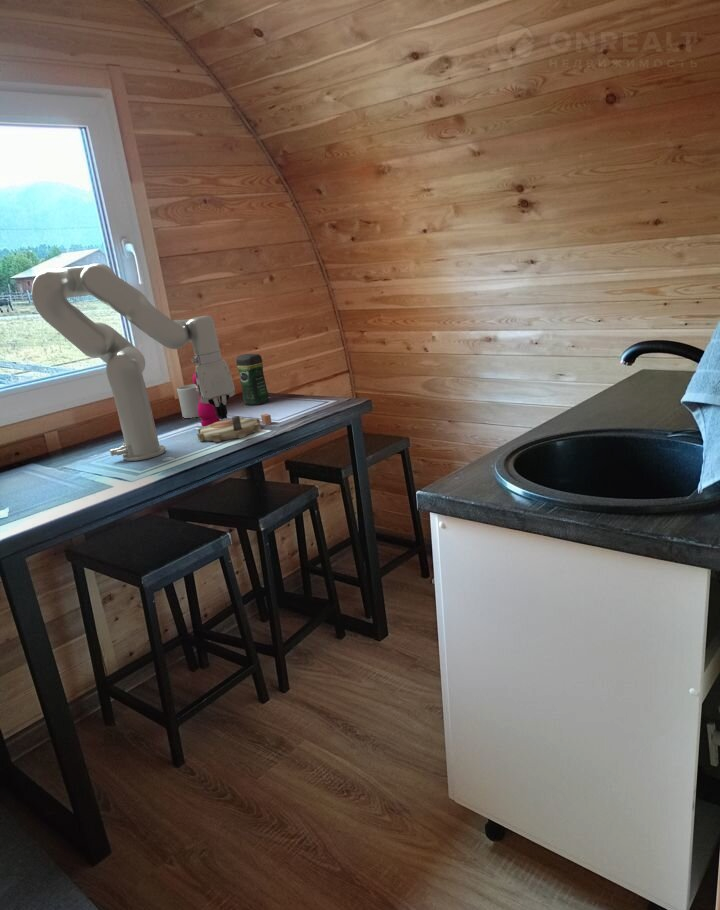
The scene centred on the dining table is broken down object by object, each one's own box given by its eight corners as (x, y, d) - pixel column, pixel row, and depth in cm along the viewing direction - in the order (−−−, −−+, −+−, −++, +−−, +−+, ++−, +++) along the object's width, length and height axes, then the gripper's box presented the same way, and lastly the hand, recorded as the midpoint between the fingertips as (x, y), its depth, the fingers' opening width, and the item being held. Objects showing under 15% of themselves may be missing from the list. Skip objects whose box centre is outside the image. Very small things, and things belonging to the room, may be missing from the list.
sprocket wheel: (188, 435, 231) (184, 417, 229) (246, 420, 240) (243, 402, 239) (211, 445, 214) (207, 426, 212) (272, 429, 223) (269, 410, 222)
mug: (178, 419, 259) (171, 389, 256) (192, 413, 267) (186, 384, 263) (204, 418, 254) (198, 388, 251) (218, 412, 261) (213, 383, 258)
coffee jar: (273, 401, 268) (264, 351, 262) (257, 406, 262) (248, 356, 257) (256, 399, 274) (247, 351, 269) (240, 405, 269) (231, 356, 263)
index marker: (266, 425, 232) (264, 416, 231) (262, 423, 234) (260, 415, 233) (271, 423, 233) (270, 414, 232) (268, 422, 235) (266, 413, 234)
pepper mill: (217, 426, 240) (205, 367, 235) (197, 427, 242) (185, 369, 236) (224, 420, 247) (213, 363, 241) (204, 422, 248) (193, 365, 243)
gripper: (189, 365, 205) (204, 426, 210) (236, 353, 212) (250, 413, 217) (180, 363, 211) (195, 423, 216) (227, 352, 218) (240, 410, 223)
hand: (222, 418), depth 217 cm, fingers closed
